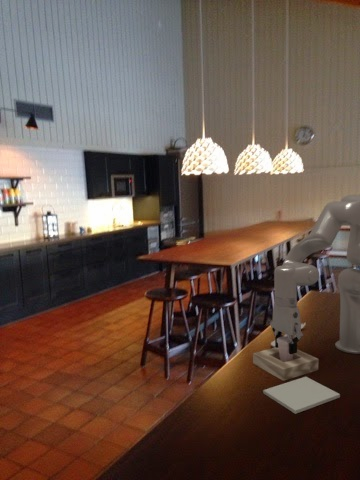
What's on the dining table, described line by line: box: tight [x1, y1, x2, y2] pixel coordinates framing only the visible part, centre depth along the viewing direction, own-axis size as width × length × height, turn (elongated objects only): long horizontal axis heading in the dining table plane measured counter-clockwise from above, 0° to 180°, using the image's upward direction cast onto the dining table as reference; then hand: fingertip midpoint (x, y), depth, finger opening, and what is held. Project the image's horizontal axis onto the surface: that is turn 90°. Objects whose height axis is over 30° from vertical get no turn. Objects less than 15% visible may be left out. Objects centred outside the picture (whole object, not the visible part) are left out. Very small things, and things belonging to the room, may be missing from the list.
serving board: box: [262, 376, 341, 415], centre depth 128 cm, size 18×14×1 cm
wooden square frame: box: [252, 347, 319, 381], centre depth 148 cm, size 16×16×4 cm
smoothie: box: [277, 335, 294, 362], centre depth 148 cm, size 6×6×14 cm
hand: (286, 349), depth 148 cm, fingers closed on smoothie, 6 cm apart
